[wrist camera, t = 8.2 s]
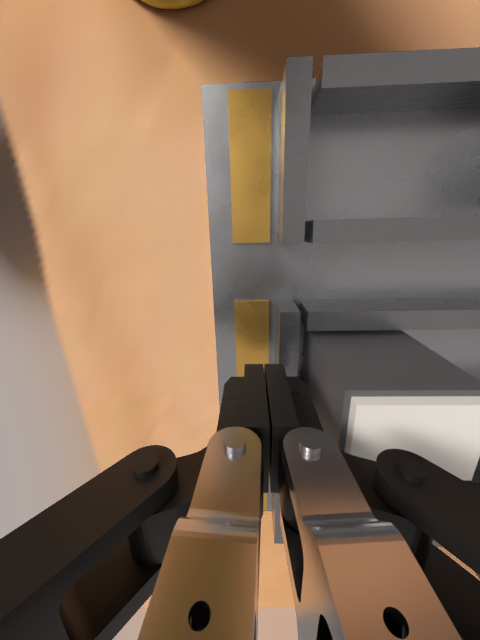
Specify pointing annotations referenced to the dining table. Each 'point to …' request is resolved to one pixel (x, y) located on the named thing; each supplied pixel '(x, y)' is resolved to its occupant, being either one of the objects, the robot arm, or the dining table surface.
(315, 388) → the block
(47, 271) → the dining table surface
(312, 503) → the robot arm
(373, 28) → the dining table surface
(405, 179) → the panel
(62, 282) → the dining table surface
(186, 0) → the vase
